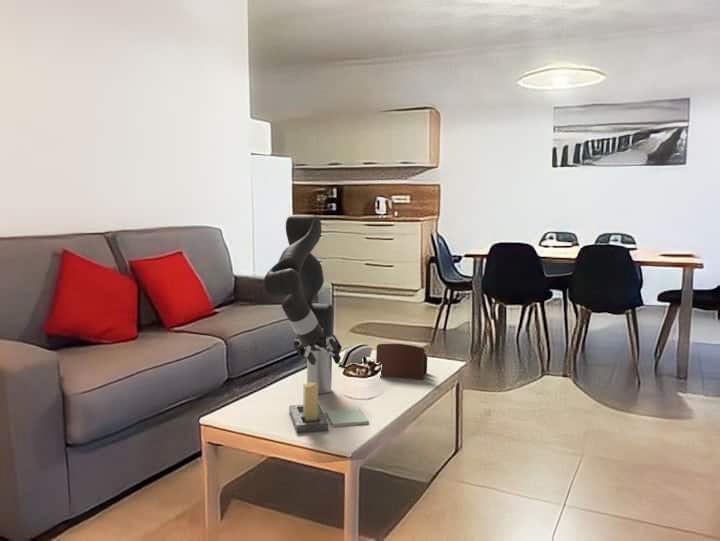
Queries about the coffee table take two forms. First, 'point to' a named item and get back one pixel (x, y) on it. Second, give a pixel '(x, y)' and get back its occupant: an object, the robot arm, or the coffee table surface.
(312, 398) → the plug
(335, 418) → the pad
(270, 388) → the coffee table surface
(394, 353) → the letter holder
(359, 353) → the grey curved piece
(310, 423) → the frame with square holes
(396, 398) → the coffee table surface
